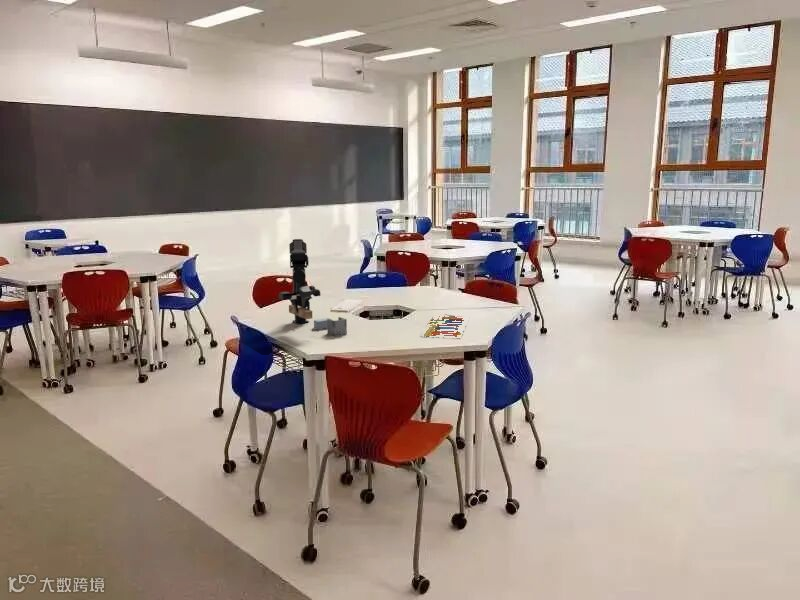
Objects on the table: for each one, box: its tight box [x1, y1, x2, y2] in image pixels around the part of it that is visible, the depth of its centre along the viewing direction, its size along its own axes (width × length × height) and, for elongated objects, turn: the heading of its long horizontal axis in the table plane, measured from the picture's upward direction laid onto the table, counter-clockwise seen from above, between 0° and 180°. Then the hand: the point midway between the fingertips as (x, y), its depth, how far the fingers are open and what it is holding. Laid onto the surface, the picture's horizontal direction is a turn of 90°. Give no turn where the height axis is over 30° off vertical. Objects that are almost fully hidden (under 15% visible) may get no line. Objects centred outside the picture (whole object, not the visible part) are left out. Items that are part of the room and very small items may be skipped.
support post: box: [313, 317, 333, 330], centre depth 292 cm, size 4×8×4 cm, turn 125°
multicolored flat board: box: [424, 313, 464, 338], centre depth 295 cm, size 45×2×19 cm
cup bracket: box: [326, 316, 348, 337], centre depth 281 cm, size 6×7×7 cm
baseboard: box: [330, 298, 364, 313], centre depth 343 cm, size 31×3×12 cm
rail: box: [288, 304, 313, 320], centre depth 277 cm, size 18×3×4 cm, turn 36°
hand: (300, 312), depth 277 cm, fingers closed on rail, 3 cm apart
